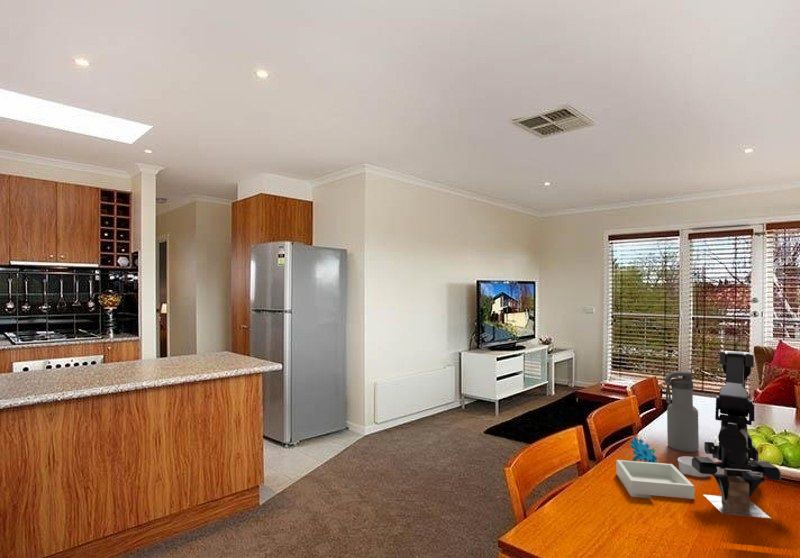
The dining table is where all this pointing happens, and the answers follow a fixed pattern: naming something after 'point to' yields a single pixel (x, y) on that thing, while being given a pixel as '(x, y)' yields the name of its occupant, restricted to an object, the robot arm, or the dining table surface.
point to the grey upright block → (737, 494)
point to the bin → (653, 480)
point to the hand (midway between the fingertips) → (735, 499)
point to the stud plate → (726, 510)
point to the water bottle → (681, 413)
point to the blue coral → (643, 451)
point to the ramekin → (689, 467)
